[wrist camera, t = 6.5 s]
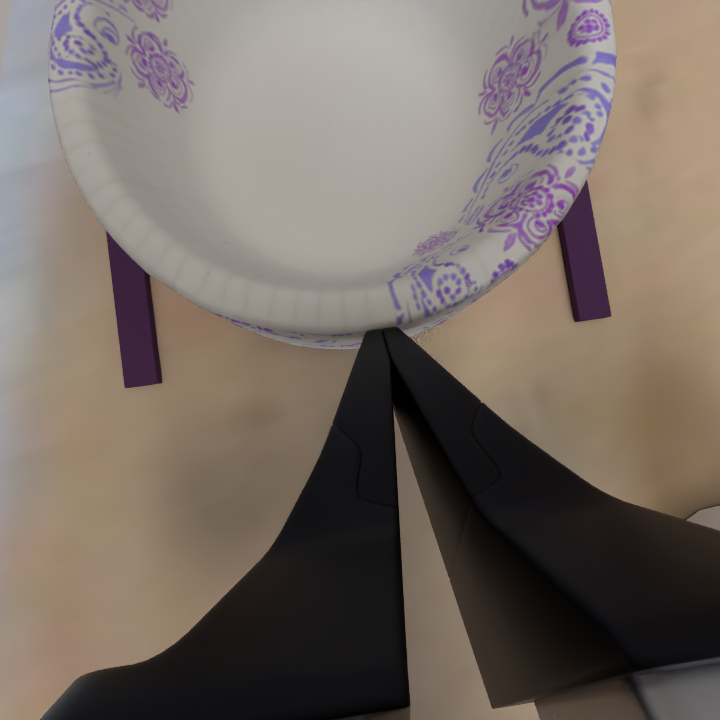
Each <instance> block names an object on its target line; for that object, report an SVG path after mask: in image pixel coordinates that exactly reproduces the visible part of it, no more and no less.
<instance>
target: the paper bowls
mask: <svg viewBox="0 0 720 720" xmlns="http://www.w3.org/2000/svg"><path fill="white" fill-rule="evenodd" d="M616 57H617V56H616V45H615V31H614V24H613V18H612V11H611V5H610V1H609V0H57V2H56V6H55V12H54V17H53V22H52V30H51V37H50V43H49V79H48V81H49V84H50V98H51V106H52V111H53V116H54V121H55V125H56V129H57V133H58V137H59V140H60V143H61V146H62V149H63V152H64V155H65V158H66V160H67V163H68V165H69V168H70V171H71V173H72V175H73V177H74V179H75V181H76V183H77V185H78V187H79V189H80V191H81V193H82V195H83V196H84V198H85V200H86V202H87V203H88V205H89V207H90V209H91V210H92V212H93V213H94V215H95V216H96V217H97V219H98V220H99V222H100V223H101V224H102V226H103V227H104V228H105V230H106V231H107V232H108V233H109V234H110V236H111V237H112V238H113V239H114V240H115V241H116V242H117V244H118V245H119V246H120V247H121V248H122V249H123V250H124V251H125V252H126V253H127V254H128V255H129V256H130V257H131V258H132V259H133V260H134V261H135V262H136V263H137V264H138V265H139V266H140V267H141V268H142V269H143V270H144V271H146V272H147V273H148V274H149V275H150V276H152V277H153V278H155V279H156V280H158V281H160V282H162V283H163V284H165V285H166V286H167V287H169V288H170V289H172V290H173V291H175V292H176V293H178V294H179V295H181V296H183V297H184V298H186V299H187V300H189V301H191V302H192V303H194V304H196V305H198V306H200V307H202V308H204V309H206V310H208V311H210V312H212V313H214V314H216V315H218V316H221V317H223V318H225V319H226V320H227V321H229V322H231V323H233V324H235V325H237V326H240V327H242V328H245V329H247V330H249V331H252V332H255V333H257V334H259V335H261V336H265V337H268V338H271V339H274V340H278V341H281V342H285V343H288V344H293V345H297V346H302V347H310V348H318V349H356V348H360V346H361V343H362V340H363V337H364V335H365V332H366V331H370V330H377V329H380V330H381V331H382V330H383V329H384V328H390V327H398V328H399V329H401V330H402V331H403V332H404V333H405V334H406V335H407V336H408V337H411V336H414V335H416V334H419V333H422V332H424V331H426V330H428V329H430V328H432V327H435V326H436V325H438V324H440V323H442V322H444V321H446V320H447V319H449V318H450V317H452V316H454V315H455V314H457V313H458V312H460V311H461V310H463V309H464V308H466V307H467V306H469V305H470V304H472V303H473V302H475V301H476V300H478V299H479V298H480V297H482V296H483V295H484V294H486V293H487V292H489V291H490V290H491V289H492V288H494V287H495V286H497V285H498V284H499V283H501V282H502V281H503V280H505V279H506V278H508V277H509V276H510V275H511V274H512V273H514V272H515V271H516V270H517V269H518V268H519V267H521V266H522V265H523V264H524V263H525V262H526V261H527V260H528V259H529V258H530V257H531V256H533V255H534V254H535V252H536V251H537V250H538V249H539V248H540V246H541V245H542V244H543V243H544V242H545V241H546V240H547V238H548V237H549V236H550V234H551V233H552V232H553V231H554V230H555V229H556V227H557V225H558V224H559V223H560V221H561V220H563V218H564V217H565V216H566V214H567V213H568V211H569V209H570V207H571V206H572V204H573V202H574V201H575V199H576V198H577V196H578V195H579V193H580V191H581V189H582V188H583V186H584V184H585V182H586V180H587V177H588V175H589V174H590V172H591V170H592V166H593V165H594V162H595V159H596V157H597V154H598V152H599V149H600V146H601V143H602V140H603V136H604V132H605V129H606V126H607V121H608V117H609V113H610V108H611V103H612V98H613V93H614V86H615V67H616Z"/></svg>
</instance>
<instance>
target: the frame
mask: <svg viewBox="0 0 720 720" xmlns="http://www.w3.org/2000/svg"><path fill="white" fill-rule="evenodd" d="M558 227H559V233H560V239H561V244H562V250H563V256H564V261H565V267H566V273H567V278H568V284H569V290H570V296H571V301H572V307H573V313H574V318H575V322H579V321H586V320H593V319H600V318H606V317H610V316H611V311H610V306H609V300H608V295H607V289H606V284H605V278H604V272H603V267H602V261H601V256H600V250H599V245H598V239H597V234H596V228H595V223H594V217H593V211H592V206H591V200H590V195H589V189H588V184H587V180H586V182H585V184H584V186H583V188H582V189H581V191H580V193H579V195H578V196H577V198H576V199H575V201H574V202H573V204H572V206H571V207H570V209H569V211H568V213H567V214H566V216H565V217H564V218H563V220H561V221H560V223H559V224H558ZM106 233H107V241H108V250H109V258H110V267H111V275H112V284H113V292H114V300H115V309H116V317H117V326H118V334H119V343H120V351H121V360H122V368H123V376H124V385H125V388H131V387H138V386H145V385H151V384H158V383H162V381H161V373H160V364H159V356H158V348H157V340H156V332H155V324H154V316H153V308H152V299H151V291H150V283H149V275H148V273H147V272H146V271H144V270H143V269H142V268H141V267H140V266H139V265H138V264H137V263H136V262H135V261H134V260H133V259H132V258H131V257H130V256H129V255H128V254H127V253H126V252H125V251H124V250H123V249H122V248H121V247H120V246H119V245H118V244H117V242H116V241H115V240H114V239H113V238H112V237H111V236H110V234H109V233H108V232H107V231H106Z"/></svg>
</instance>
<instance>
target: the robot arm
mask: <svg viewBox="0 0 720 720" xmlns="http://www.w3.org/2000/svg"><path fill="white" fill-rule="evenodd" d="M393 408H394V412H395V415H396V418H397V422H398V425H399V428H400V431H401V434H402V437H403V440H404V443H405V446H406V449H407V452H408V455H409V458H410V461H411V464H412V467H413V470H414V473H415V476H416V479H417V482H418V485H419V488H420V491H421V494H422V497H423V500H424V503H425V506H426V509H427V512H428V516H429V519H430V522H431V525H432V528H433V531H434V534H435V537H436V540H437V543H438V546H439V549H440V552H441V555H442V558H443V561H444V564H445V567H446V570H447V573H448V576H449V578H450V582H451V586H452V589H453V592H454V595H455V598H456V601H457V604H458V607H459V610H460V613H461V616H462V619H463V622H464V625H465V628H466V631H467V634H468V637H469V640H470V643H471V646H472V649H473V652H474V655H475V658H476V661H477V664H478V667H479V670H480V673H481V676H482V679H483V682H484V685H485V688H486V691H487V694H488V697H489V700H490V703H491V706H492V708H493V709H495V708H501V707H507V706H514V705H520V704H526V703H532V702H534V703H535V706H536V709H537V712H538V715H539V718H540V720H720V531H719V530H716V529H713V528H710V527H706V526H703V525H700V524H696V523H693V522H690V521H686V520H683V519H680V518H677V517H673V516H670V515H667V514H663V513H660V512H657V511H654V510H650V509H647V508H644V507H640V506H637V505H634V504H631V503H628V502H624V501H622V500H620V499H617V498H615V497H613V496H611V495H609V494H607V493H605V492H603V491H601V490H599V489H598V488H596V487H594V486H592V485H591V484H589V483H588V482H586V481H585V480H584V479H582V478H581V477H579V476H578V475H577V474H575V473H574V472H572V471H571V470H570V469H568V468H567V467H565V466H564V465H563V464H561V463H560V462H558V461H557V460H556V459H554V458H553V457H551V456H550V455H549V454H547V453H546V452H544V451H543V450H542V449H540V448H539V447H538V446H536V445H535V444H533V443H532V442H531V441H529V440H528V439H527V438H525V437H524V436H523V435H521V434H520V433H519V432H517V431H516V430H515V429H513V428H512V427H511V426H510V425H508V424H507V423H506V422H505V421H504V420H502V419H501V418H500V417H499V416H498V415H496V414H495V413H494V412H493V411H492V410H491V409H490V408H488V407H487V406H486V405H485V404H484V403H481V401H480V400H479V399H478V398H477V397H476V396H475V395H474V394H473V393H471V392H470V391H469V390H468V389H467V388H466V387H465V386H464V385H462V384H461V383H460V382H459V381H458V380H457V379H456V378H455V377H453V376H452V375H451V374H450V373H449V372H448V371H447V370H446V369H444V368H443V367H442V366H441V365H440V364H439V363H438V362H437V361H435V360H434V359H433V358H432V357H431V356H430V355H429V354H428V353H426V352H425V351H424V350H423V349H422V348H421V347H420V346H419V345H417V344H416V343H415V342H414V341H413V340H412V339H411V338H410V337H408V336H407V335H406V334H405V333H404V332H403V331H402V330H401V329H399V328H398V327H390V328H384V329H383V330H382V331H381V330H380V329H377V330H370V331H366V332H365V335H364V337H363V340H362V343H361V346H360V348H359V351H358V354H357V357H356V359H355V362H354V365H353V368H352V371H351V373H350V376H349V379H348V382H347V384H346V387H345V390H344V393H343V396H342V398H341V401H340V404H339V407H338V409H337V412H336V415H335V418H334V421H333V425H332V426H331V428H330V431H329V434H328V437H327V439H326V442H325V444H324V447H323V449H322V452H321V454H320V457H319V459H318V461H317V463H316V465H315V467H314V469H313V471H312V473H311V475H310V477H309V479H308V481H307V483H306V485H305V487H304V489H303V490H302V492H301V494H300V496H299V498H298V500H297V502H296V504H295V506H294V508H293V509H292V511H291V513H290V515H289V517H288V519H287V521H286V523H285V525H284V526H283V528H282V530H281V532H280V534H279V535H278V537H277V539H276V540H275V542H274V543H273V545H272V546H271V548H270V549H269V550H268V552H267V553H266V554H265V555H264V556H263V558H262V559H261V560H260V561H259V562H258V563H257V564H256V565H255V566H254V567H253V568H252V569H251V570H250V571H249V572H248V573H247V574H246V575H245V576H244V577H243V578H242V579H241V580H240V581H239V582H238V583H237V584H236V585H235V586H234V587H233V588H232V589H231V590H230V591H229V592H228V593H227V594H226V595H225V596H224V597H223V598H222V599H221V600H220V601H219V602H218V603H217V604H216V605H215V606H214V607H213V608H212V609H211V610H210V611H209V612H208V613H207V614H206V615H205V616H204V617H203V618H202V619H201V620H200V621H199V622H198V623H197V624H196V625H195V626H194V627H193V628H192V629H191V630H190V631H189V632H188V633H187V634H186V635H184V636H183V637H182V638H181V639H180V640H179V641H178V642H176V643H175V644H174V645H172V646H171V647H169V648H168V649H166V650H165V651H163V652H162V653H160V654H158V655H156V656H154V657H152V658H150V659H148V660H146V661H143V662H140V663H136V664H133V665H126V666H120V667H114V668H108V669H103V670H98V671H94V672H91V673H87V674H85V675H83V676H81V677H79V678H78V679H76V680H75V681H74V682H73V683H72V685H71V686H70V687H69V688H68V689H67V690H66V691H65V692H64V693H63V694H62V696H61V697H60V698H59V699H58V700H57V701H56V702H55V703H54V704H53V705H52V706H51V708H50V709H49V710H48V711H47V712H46V713H45V714H44V715H43V717H42V718H41V719H40V720H410V693H409V681H408V667H407V649H406V632H405V614H404V596H403V578H402V560H401V542H400V524H399V505H398V487H397V468H396V450H395V431H394V413H393Z"/></svg>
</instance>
